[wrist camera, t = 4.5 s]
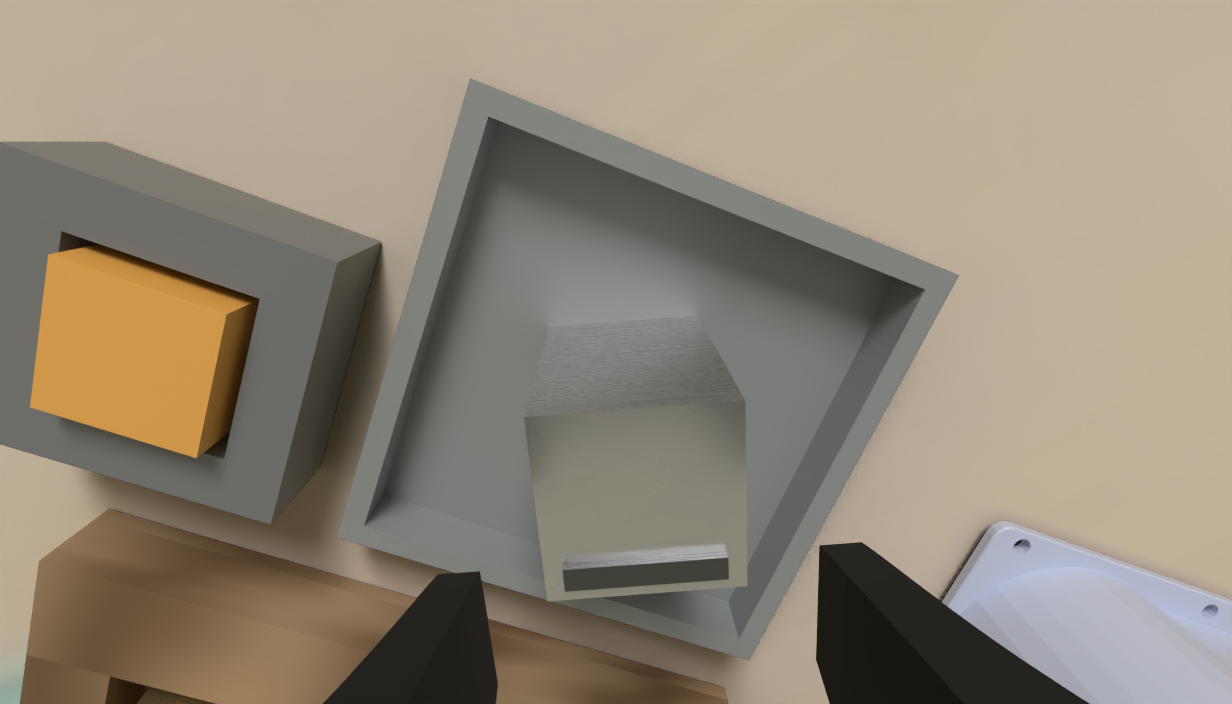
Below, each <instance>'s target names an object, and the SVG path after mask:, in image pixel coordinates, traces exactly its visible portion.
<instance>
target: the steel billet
mask: <svg viewBox="0 0 1232 704" xmlns="http://www.w3.org/2000/svg"><path fill="white" fill-rule="evenodd" d="M524 421H525V429H526V437H527V445H528V453H529V461H530V469H531V477H532V485H533V493H534V501H535V509H536V517H537V525H538V532H539V540H540V548H541V556H542V564H543V572H544V580H545V588H546V596H547V601H559V600H572V599H585V598H599V597H612V596H625V595H638V594H651V593H665V592H678V591H691V590H704V589H717V588H731V587H744V586H747V502H746V409H745V399H744V397H743V395H742V393H741V392H740V390H739V388H738V386H737V385H736V383H735V381H734V379H733V377H732V376H731V374H730V372H729V370H728V369H727V367H726V365H725V363H724V362H723V360H722V358H721V356H720V354H719V353H718V351H717V349H716V347H715V346H714V344H713V342H712V340H711V339H710V337H709V335H708V333H707V331H706V330H705V328H704V326H703V324H702V323H701V321H700V319H699V317H698V316H687V317H674V318H660V319H647V320H634V321H621V322H607V323H594V324H581V325H568V326H554V327H549V328H548V332H547V336H546V339H545V343H544V346H543V350H542V354H541V357H540V361H539V365H538V368H537V372H536V375H535V379H534V383H533V386H532V390H531V394H530V397H529V401H528V404H527V408H526V412H525V415H524Z"/></svg>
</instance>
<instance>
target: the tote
mask: <svg viewBox="0 0 1232 704" xmlns="http://www.w3.org/2000/svg"><path fill="white" fill-rule="evenodd" d="M958 277H959V275H957V274H955V273H952V272H950V271H947V270H945V269H943V268H940V267H938V266H935V265H933V264H930V263H928V262H925V261H923V260H920V259H918V258H915V257H913V256H910V255H908V254H905V253H903V252H900V251H898V250H895V249H893V248H890V247H888V246H885V245H883V244H880V243H878V242H875V241H873V240H870V239H868V238H866V237H863V236H861V235H858V234H856V233H853V232H851V231H848V230H846V229H843V228H841V227H838V226H836V225H833V224H831V223H828V222H826V221H823V220H821V219H818V218H816V217H813V216H811V215H808V214H806V213H803V212H801V211H798V210H796V209H793V208H791V207H789V206H786V205H784V204H781V203H779V202H776V201H774V200H771V199H769V198H766V197H764V196H761V195H759V194H756V193H754V192H751V191H749V190H746V189H744V188H741V187H739V186H736V185H734V184H731V183H729V182H726V181H724V180H721V179H719V178H716V177H714V176H711V175H709V174H707V173H704V172H702V171H699V170H697V169H694V168H692V167H689V166H687V165H684V164H682V163H679V162H677V161H674V160H672V159H669V158H667V157H664V156H662V155H659V154H657V153H654V152H652V151H649V150H647V149H644V148H642V147H639V146H637V145H634V144H632V143H630V142H627V141H625V140H622V139H620V138H617V137H615V136H612V135H610V134H607V133H605V132H602V131H600V130H597V129H595V128H592V127H590V126H587V125H585V124H582V123H580V122H577V121H575V120H572V119H570V118H567V117H565V116H562V115H560V114H557V113H555V112H553V111H550V110H548V109H545V108H543V107H540V106H538V105H535V104H533V103H530V102H528V101H525V100H523V99H520V98H518V97H515V96H513V95H510V94H508V93H505V92H503V91H500V90H498V89H495V88H493V87H490V86H488V85H485V84H483V83H480V82H478V81H475V80H473V79H471V78H470V80H469V84H468V87H467V91H466V94H465V98H464V101H463V104H462V108H461V111H460V115H459V118H458V122H457V125H456V128H455V132H454V135H453V139H452V142H451V146H450V149H449V153H448V156H447V159H446V163H445V166H444V170H443V173H442V177H441V180H440V183H439V187H438V190H437V194H436V197H435V201H434V204H433V208H432V211H431V214H430V218H429V221H428V225H427V228H426V232H425V235H424V238H423V242H422V245H421V249H420V252H419V256H418V259H417V262H416V266H415V269H414V273H413V276H412V280H411V283H410V287H409V290H408V293H407V297H406V300H405V304H404V307H403V311H402V314H401V317H400V321H399V324H398V328H397V331H396V335H395V338H394V342H393V345H392V348H391V352H390V355H389V359H388V362H387V366H386V369H385V372H384V376H383V379H382V383H381V386H380V390H379V393H378V397H377V400H376V403H375V407H374V410H373V414H372V417H371V421H370V424H369V427H368V431H367V434H366V438H365V441H364V445H363V448H362V451H361V455H360V458H359V462H358V465H357V469H356V472H355V476H354V479H353V482H352V486H351V489H350V493H349V496H348V500H347V503H346V506H345V510H344V513H343V517H342V520H341V524H340V527H339V531H338V534H337V537H336V538H340V539H343V540H346V541H350V542H353V543H357V544H360V545H363V546H367V547H370V548H373V549H377V550H380V551H383V552H387V553H390V554H393V555H397V556H400V557H403V558H407V559H410V560H414V561H417V562H420V563H424V564H427V565H430V566H434V567H437V568H440V569H444V570H447V571H450V572H454V573H463V572H476V571H480V575H481V581H484V582H487V583H491V584H494V585H497V586H501V587H504V588H508V589H511V590H514V591H518V592H521V593H524V594H528V595H531V596H534V597H538V598H541V599H544V600H547V596H546V588H545V580H544V572H543V564H542V556H541V548H540V540H539V532H538V525H537V517H536V509H535V501H534V493H533V485H532V477H531V469H530V461H529V453H528V445H527V437H526V429H525V421H524V415H525V412H526V408H527V404H528V401H529V397H530V394H531V390H532V386H533V383H534V379H535V375H536V372H537V368H538V365H539V361H540V357H541V354H542V350H543V346H544V343H545V339H546V336H547V332H548V328H549V327H554V326H568V325H581V324H594V323H607V322H621V321H634V320H647V319H660V318H674V317H687V316H698V317H699V319H700V321H701V323H702V324H703V326H704V328H705V330H706V331H707V333H708V335H709V337H710V339H711V340H712V342H713V344H714V346H715V347H716V349H717V351H718V353H719V354H720V356H721V358H722V360H723V362H724V363H725V365H726V367H727V369H728V370H729V372H730V374H731V376H732V377H733V379H734V381H735V383H736V385H737V386H738V388H739V390H740V392H741V393H742V395H743V397H744V399H745V409H746V502H747V586H744V587H731V588H717V589H704V590H691V591H678V592H665V593H651V594H638V595H625V596H612V597H599V598H585V599H572V600H559V601H551V602H554V603H558V604H561V605H565V606H568V607H571V608H575V609H578V610H581V611H585V612H588V613H591V614H595V615H598V616H601V617H605V618H608V619H612V620H615V621H618V622H622V623H625V624H628V625H632V626H635V627H638V628H642V629H645V630H648V631H652V632H655V633H659V634H662V635H665V636H669V637H672V638H675V639H679V640H682V641H685V642H689V643H692V644H695V645H699V646H702V647H705V648H709V649H712V650H716V651H719V652H722V653H726V654H729V655H732V656H736V657H739V658H742V659H746V660H750V658H751V656H752V654H753V652H754V651H755V649H756V647H757V645H758V643H759V641H760V640H761V638H762V636H763V634H764V632H765V630H766V629H767V627H768V625H769V623H770V621H771V619H772V618H773V616H774V614H775V612H776V610H777V608H778V607H779V605H780V603H781V601H782V599H783V597H784V596H785V594H786V592H787V590H788V588H789V587H790V585H791V583H792V581H793V579H794V577H795V576H796V574H797V572H798V570H799V568H800V566H801V565H802V563H803V561H804V559H805V557H806V555H807V554H808V552H809V550H810V548H811V546H812V544H813V543H814V541H815V539H816V537H817V535H818V533H819V532H820V530H821V528H822V526H823V524H824V522H825V521H826V519H827V517H828V515H829V513H830V511H831V510H832V508H833V506H834V504H835V502H836V500H837V499H838V497H839V495H840V493H841V491H842V489H843V488H844V486H845V484H846V482H847V480H848V478H849V477H850V475H851V473H852V471H853V469H854V467H855V466H856V464H857V462H858V460H859V458H860V456H861V455H862V453H863V451H864V449H865V447H866V445H867V444H868V442H869V440H870V438H871V436H872V434H873V433H874V431H875V429H876V427H877V425H878V423H879V422H880V420H881V418H882V416H883V414H884V412H885V411H886V409H887V407H888V405H889V403H890V401H891V400H892V398H893V396H894V394H895V392H896V390H897V389H898V387H899V385H900V383H901V381H902V379H903V378H904V376H905V374H906V372H907V370H908V368H909V367H910V365H911V363H912V361H913V359H914V357H915V356H916V354H917V352H918V350H919V348H920V346H921V345H922V343H923V341H924V339H925V337H926V335H927V334H928V332H929V330H930V328H931V326H932V324H933V323H934V321H935V319H936V317H937V315H938V313H939V312H940V310H941V308H942V306H943V304H944V302H945V301H946V299H947V297H948V295H949V293H950V291H951V290H952V288H953V286H954V284H955V282H956V280H957V279H958Z"/></svg>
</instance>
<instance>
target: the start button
mask: <svg viewBox="0 0 1232 704" xmlns="http://www.w3.org/2000/svg"><path fill="white" fill-rule="evenodd" d="M259 300H260V299H259V298H256V297H253V296H250V295H247V294H244V293H241V292H238V291H235V290H232V289H230V288H227V287H224V286H221V285H218V284H215V283H212V282H209V281H206V280H203V279H200V278H197V277H194V276H191V275H189V274H186V273H183V272H180V271H177V270H174V269H171V268H168V267H165V266H162V265H159V264H156V263H153V262H150V261H147V260H145V259H142V258H139V257H136V256H133V255H130V254H127V253H124V252H121V251H118V250H115V249H112V248H109V247H106V246H104V245H101V244H97V245H92V246H88V247H83V248H78V249H73V250H68V251H63V252H58V253H53V254H48V260H47V269H46V277H45V285H44V294H43V302H42V310H41V319H40V327H39V335H38V344H37V352H36V360H35V369H34V377H33V385H32V394H31V402H30V407H31V408H34V409H37V410H40V411H44V412H47V413H50V414H54V415H57V416H60V417H63V418H67V419H70V420H73V421H76V422H80V423H83V424H86V425H90V426H93V427H96V428H99V429H103V430H106V431H109V432H112V433H116V434H119V435H122V436H126V437H129V438H132V439H135V440H139V441H142V442H145V443H148V444H152V445H155V446H158V447H162V448H165V449H168V450H171V451H175V452H178V453H181V454H184V455H188V456H191V457H194V458H197V457H199V456H200V455H201V454H203V453H204V452H205V451H206V450H208V449H209V448H210V447H211V446H213V445H214V444H215V443H217V442H218V441H219V440H220V439H222V438H223V437H224V436H226V435H227V434H228V433H229V432H230V431H231V426H232V422H233V417H234V413H235V408H236V404H237V399H238V395H239V390H240V386H241V381H242V377H243V372H244V368H245V363H246V359H247V354H248V350H249V345H250V341H251V336H252V332H253V327H254V323H255V318H256V314H257V309H258V305H259Z"/></svg>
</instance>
